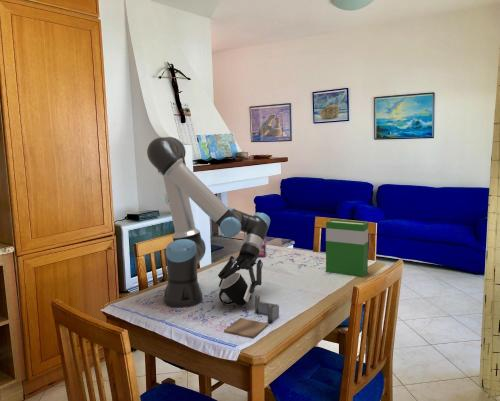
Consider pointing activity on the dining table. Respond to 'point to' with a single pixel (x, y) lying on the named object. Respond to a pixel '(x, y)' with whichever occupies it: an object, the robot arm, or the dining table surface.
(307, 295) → the dining table surface
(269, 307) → the grey l-shaped bracket
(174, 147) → the robot arm
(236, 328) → the coaster
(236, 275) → the mug
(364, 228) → the hardback book
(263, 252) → the candy bar box
